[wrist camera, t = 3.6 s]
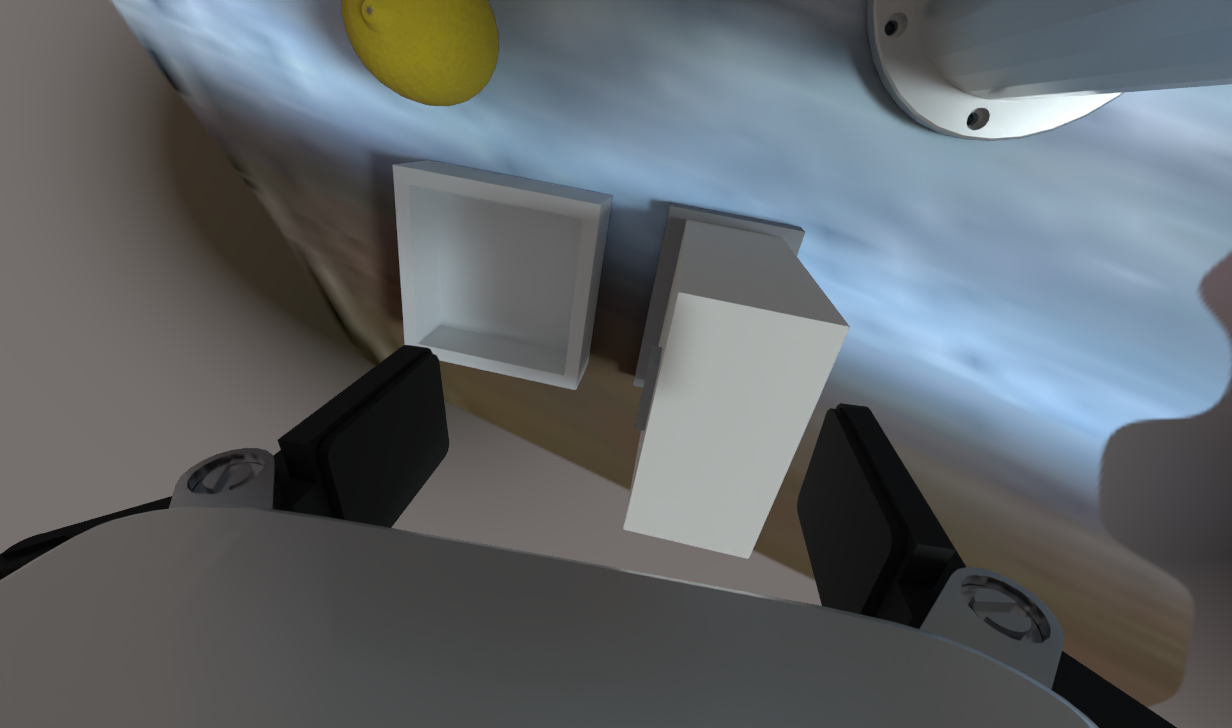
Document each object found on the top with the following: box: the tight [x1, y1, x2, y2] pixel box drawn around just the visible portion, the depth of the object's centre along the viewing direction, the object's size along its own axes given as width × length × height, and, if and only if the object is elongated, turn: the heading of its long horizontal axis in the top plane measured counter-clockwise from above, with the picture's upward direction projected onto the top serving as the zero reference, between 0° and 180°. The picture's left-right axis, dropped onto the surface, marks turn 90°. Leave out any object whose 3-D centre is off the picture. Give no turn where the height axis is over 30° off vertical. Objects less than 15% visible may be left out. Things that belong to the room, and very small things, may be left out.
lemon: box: [341, 0, 499, 106], centre depth 20 cm, size 6×6×8 cm
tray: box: [393, 160, 613, 390], centre depth 27 cm, size 11×11×4 cm
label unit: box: [624, 203, 850, 559], centre depth 22 cm, size 11×7×13 cm, turn 171°
